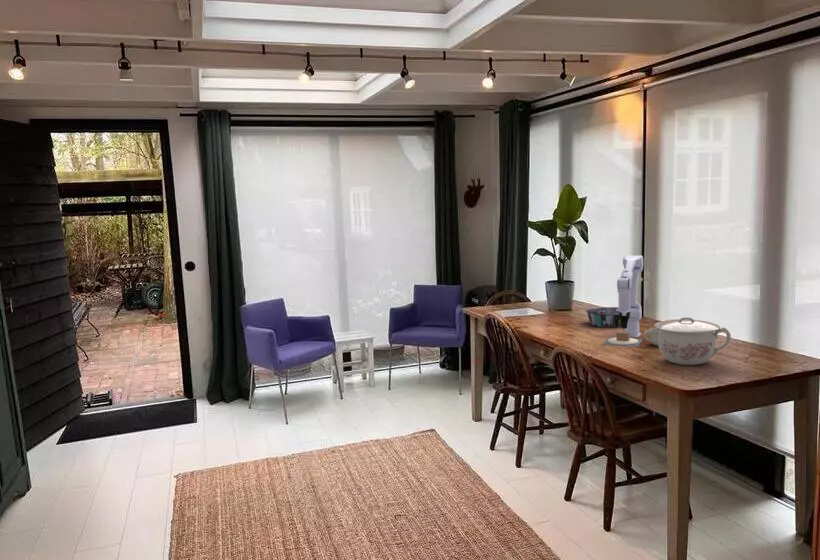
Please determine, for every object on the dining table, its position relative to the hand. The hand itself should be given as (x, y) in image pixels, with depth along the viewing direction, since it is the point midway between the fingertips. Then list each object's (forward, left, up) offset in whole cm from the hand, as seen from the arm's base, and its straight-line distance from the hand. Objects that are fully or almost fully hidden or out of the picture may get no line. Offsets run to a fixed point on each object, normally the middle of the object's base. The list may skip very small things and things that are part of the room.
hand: (624, 327), depth 314 cm
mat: (-1, -1, -9) cm, 9 cm away
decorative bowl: (-46, -19, -9) cm, 50 cm away
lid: (-1, -1, -8) cm, 8 cm away
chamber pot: (+27, +33, -9) cm, 43 cm away
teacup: (-1, +16, -9) cm, 18 cm away
